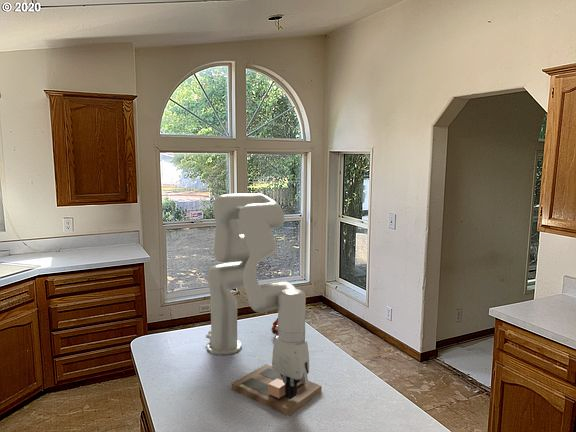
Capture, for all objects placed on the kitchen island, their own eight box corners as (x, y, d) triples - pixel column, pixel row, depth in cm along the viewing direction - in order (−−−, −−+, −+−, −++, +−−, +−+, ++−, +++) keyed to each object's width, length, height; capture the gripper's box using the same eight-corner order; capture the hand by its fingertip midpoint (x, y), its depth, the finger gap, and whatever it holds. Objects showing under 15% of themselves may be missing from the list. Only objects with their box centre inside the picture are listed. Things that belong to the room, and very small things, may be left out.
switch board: (231, 389, 131) (231, 383, 131) (266, 369, 143) (266, 363, 143) (288, 416, 117) (288, 409, 117) (321, 392, 130) (321, 385, 130)
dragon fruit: (294, 335, 176) (275, 349, 167) (280, 320, 179) (261, 332, 170) (303, 322, 171) (284, 336, 162) (288, 307, 174) (269, 319, 165)
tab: (268, 393, 124) (268, 383, 124) (277, 387, 127) (277, 378, 127) (279, 398, 122) (279, 388, 121) (287, 392, 125) (287, 382, 124)
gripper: (262, 331, 121) (262, 393, 123) (305, 345, 112) (304, 412, 114) (279, 323, 127) (278, 382, 129) (321, 336, 118) (320, 400, 120)
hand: (290, 396), depth 122 cm, fingers closed
